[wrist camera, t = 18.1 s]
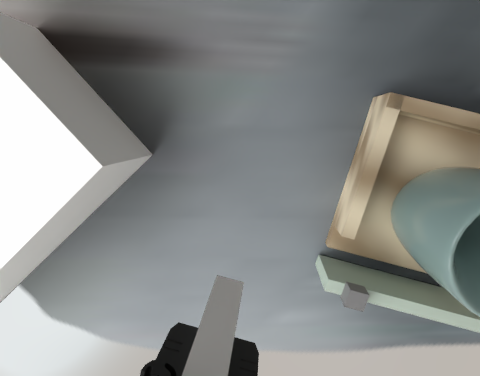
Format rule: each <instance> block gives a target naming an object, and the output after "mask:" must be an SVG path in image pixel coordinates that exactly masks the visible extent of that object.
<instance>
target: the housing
mask: <svg viewBox="0 0 480 376" xmlns="http://www.w3.org/2000/svg"><path fill="white" fill-rule="evenodd" d="M457 166H463V167H475V168H480V114H478V113H474V112H470V111H466V110H462V109H458V108H454V107H449V106H445V105H441V104H437V103H433V102H429V101H425V100H421V99H416V98H412V97H408V96H404V95H400V94H396V93H392V92H390V93H387V94H383V95H380V96H376V97H373V100H372V103H371V106H370V109H369V112H368V115H367V118H366V121H365V124H364V127H363V130H362V133H361V136H360V139H359V142H358V145H357V148H356V151H355V154H354V157H353V161H352V164H351V167H350V170H349V173H348V176H347V179H346V182H345V185H344V188H343V191H342V194H341V197H340V200H339V203H338V206H337V209H336V212H335V215H334V218H333V221H332V224H331V227H330V230H329V233H328V236H327V239H326V242H325V243H326V245H327V247H330V248H333V249H337V250H341V251H345V252H349V253H352V254H356V255H360V256H364V257H367V258H371V259H375V260H379V261H383V262H386V263H390V264H394V265H398V266H401V267H405V268H409V269H413V270H416V271H420V272H424V273H427V272H426V271H424V270H423V269H422V268H421V267H420V266H419V265H418V264H417V263H416V262H415V261H414V260H413V258H412V257H411V256H410V255H409V254H408V253H407V251H406V250H405V249H404V247H403V246H402V244H401V243H400V242H399V240H398V238H397V236H396V234H395V232H394V230H393V227H392V223H391V218H390V210H391V206H392V202H393V200H394V198H395V196H396V195H397V193H398V192H399V191H400V189H401V188H402V187H403V186H404V185H405V184H406V183H407V182H409V181H410V180H411V179H413V178H414V177H416V176H418V175H420V174H422V173H424V172H427V171H429V170H433V169H437V168H442V167H457Z"/></svg>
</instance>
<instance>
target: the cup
mask: <svg viewBox="0 0 480 376" xmlns="http://www.w3.org/2000/svg"><path fill="white" fill-rule="evenodd" d="M390 218H391V223H392V227H393V230H394V232H395V234H396V236H397V238H398V240H399V242H400V243H401V244H402V246H403V247H404V249H405V250H406V251H407V253H408V254H409V255H410V256H411V257H412V258H413V260H414V261H415V262H416V263H417V264H418V265H419V266H420V267H421V268H422V269H423V270H424V271H426V272H427V273H428V274H429V275H430V276H431V277H432V278H433V279H434V280H435V281H436V282H437V283H438V284H439V285H441V286H442V287H443V288H444V289H445V290H446V291H447V292H448V293H449V294H450V295H452V296H453V297H454V298H455V299H456V300H457V301H458V302H459V303H461V304H462V305H463V306H464V307H465V308H467V309H468V310H469V311H471V312H473V313H474V314H476V315H477V316H479V317H480V168H475V167H463V166H457V167H442V168H437V169H433V170H429V171H427V172H424V173H422V174H420V175H418V176H416V177H414V178H413V179H411V180H410V181H409V182H407V183H406V184H405V185H404V186H403V187H402V188H401V189H400V191H399V192H398V193H397V195H396V196H395V198H394V200H393V202H392V206H391V210H390Z"/></svg>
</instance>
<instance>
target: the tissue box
mask: <svg viewBox="0 0 480 376" xmlns="http://www.w3.org/2000/svg"><path fill="white" fill-rule="evenodd" d="M152 155H153V154H152V153H151V152H150V151H149V150H148V149H147V148H146V147H145V146H144V144H143V143H142V142H141V141H140V140H139V139H138V138H137V137H136V136H135V135H134V134H133V132H132V131H131V130H130V129H129V128H128V127H127V126H126V125H125V124H124V123H123V122H122V120H121V119H120V118H119V117H118V116H117V115H116V114H115V113H114V112H113V111H112V110H111V108H110V107H109V106H108V105H107V104H106V103H105V102H104V101H103V100H102V99H101V98H100V96H99V95H98V94H97V93H96V92H95V91H94V90H93V89H92V88H91V87H90V86H89V84H88V83H87V82H86V81H85V80H84V79H83V78H82V77H81V76H80V75H79V73H78V72H77V71H76V70H75V69H74V68H73V67H72V66H71V65H70V64H69V63H68V61H67V60H66V59H65V58H64V57H63V56H62V55H61V54H60V53H59V52H58V51H57V49H56V48H55V47H54V46H53V45H52V44H51V43H50V42H49V41H48V40H47V39H46V37H45V36H44V35H43V34H42V33H41V32H40V31H39V30H38V29H37V28H36V27H33V26H31V25H29V24H26V23H24V22H22V21H19V20H17V19H15V18H12V17H10V16H8V15H6V14H3V13H1V12H0V303H1V302H2V301H3V299H5V298H6V297H7V296H8V295H9V294H10V293H11V292H12V291H13V290H14V289H15V288H16V287H17V286H18V285H19V284H20V283H21V282H22V281H23V280H24V279H25V278H26V277H27V276H28V275H29V274H30V273H31V272H32V271H33V270H34V269H35V268H36V267H37V266H38V265H39V264H40V263H41V262H42V261H43V260H44V259H46V258H47V257H48V256H49V255H50V254H51V253H52V252H53V251H54V250H55V249H56V248H57V247H58V246H59V245H60V244H61V243H62V242H63V241H64V240H65V239H66V238H67V237H68V236H69V235H70V234H71V233H72V232H73V231H74V230H76V229H77V228H78V227H79V226H80V225H81V224H82V223H83V222H84V221H85V220H86V219H87V218H88V217H89V216H90V215H91V214H92V213H93V212H94V211H95V210H96V209H97V208H98V207H99V206H100V205H101V204H102V203H103V202H105V201H106V200H107V199H108V198H109V197H110V196H111V195H112V194H113V193H114V192H115V191H116V190H117V189H118V188H119V187H120V186H121V185H122V184H123V183H124V182H125V181H126V180H127V179H128V178H129V177H130V176H131V175H132V174H133V173H135V172H136V171H137V170H138V169H139V168H140V167H141V166H142V165H143V164H144V163H145V162H146V161H147V160H148V159H149V158H150V157H151V156H152Z"/></svg>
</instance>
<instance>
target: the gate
mask: <svg viewBox="0 0 480 376" xmlns="http://www.w3.org/2000/svg"><path fill="white" fill-rule="evenodd" d="M315 265H316V268H317V270H318V273H319V276H320V279H321V282H322V285H323V288H324V290H325V291H327V292H331V293H335V294H338V295H341V297H340V298H341V300H342V302H343V305H344V307H347V308H351V309H355V310H358V311H362V312H363V311H364V309H365V306H366V303H367V302H368V303H372V304H375V305H379V306H383V307H386V308H390V309H394V310H397V311H401V312H405V313H409V314H412V315H416V316H420V317H423V318H427V319H431V320H434V321H438V322H442V323H445V324H449V325H453V326H457V327H460V328H464V329H468V330H471V331H475V332H479V333H480V317H479V316H477V315H476V314H474V313H473V312H471V311H469V310H468V309H467V308H465V307H464V306H463V305H462V304H461V303H459V302H458V301H457V300H456V299H455V298H454V297H453V296H452V295H450V294H449V293H448V292H447V291H446V290H445V289H444V288H442V287H439V286H435V285H431V284H427V283H423V282H420V281H416V280H412V279H408V278H405V277H401V276H397V275H393V274H390V273H386V272H382V271H378V270H375V269H371V268H367V267H363V266H360V265H356V264H352V263H348V262H345V261H341V260H337V259H333V258H330V257H326V256H322V255H318V258H317V261H316V264H315Z"/></svg>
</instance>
